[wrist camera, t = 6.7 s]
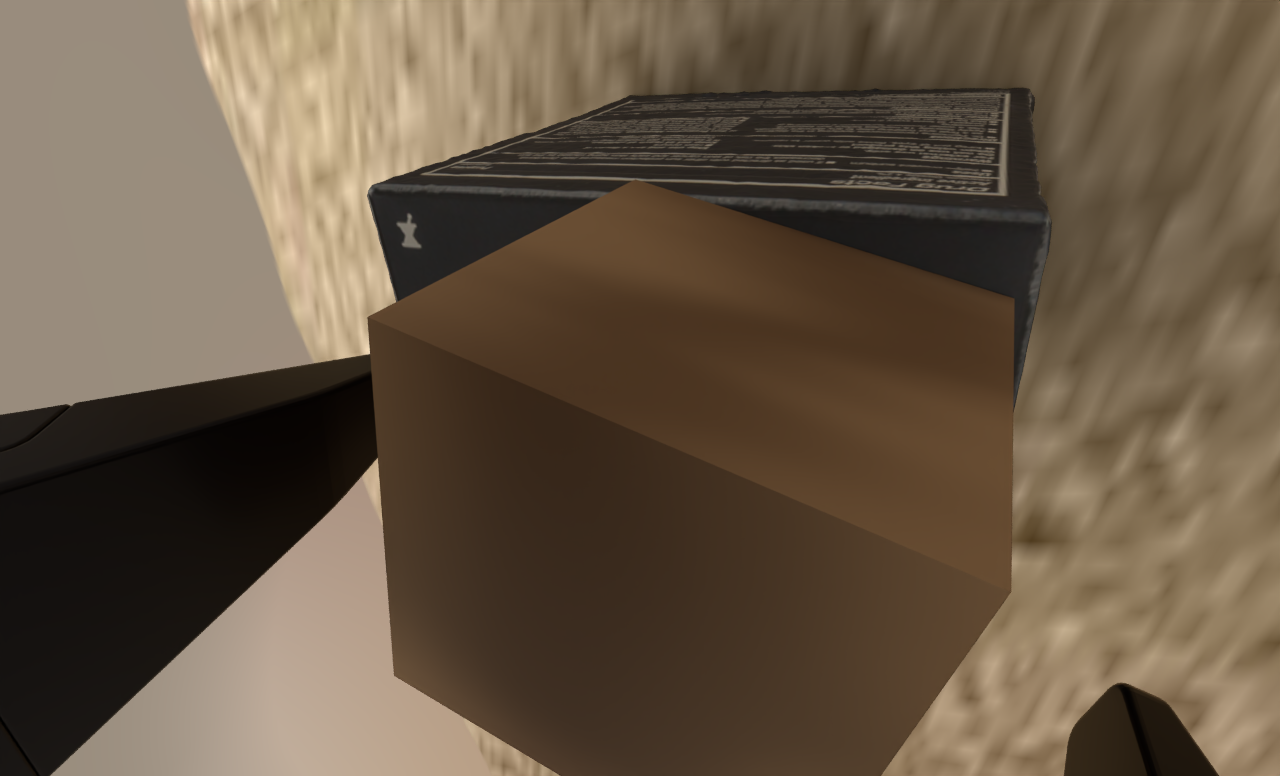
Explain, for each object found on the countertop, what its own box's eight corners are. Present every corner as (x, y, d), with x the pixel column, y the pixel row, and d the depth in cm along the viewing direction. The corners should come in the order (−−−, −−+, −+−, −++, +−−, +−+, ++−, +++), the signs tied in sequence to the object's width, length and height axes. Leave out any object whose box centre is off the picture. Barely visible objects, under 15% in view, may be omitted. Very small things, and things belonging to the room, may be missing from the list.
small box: (638, 304, 23) (427, 482, 15) (622, 92, 20) (344, 168, 12) (991, 343, 19) (970, 626, 10) (1042, 80, 16) (1067, 189, 7)
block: (1014, 298, 8) (1012, 592, 4) (867, 578, 11) (784, 909, 7) (635, 179, 9) (367, 316, 6) (592, 455, 12) (394, 675, 8)
